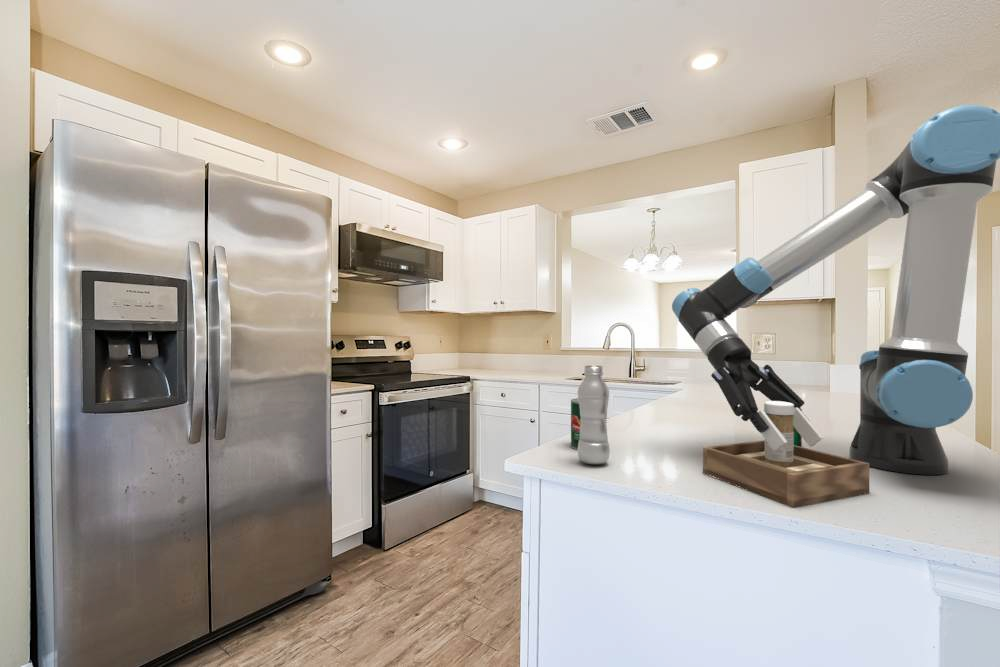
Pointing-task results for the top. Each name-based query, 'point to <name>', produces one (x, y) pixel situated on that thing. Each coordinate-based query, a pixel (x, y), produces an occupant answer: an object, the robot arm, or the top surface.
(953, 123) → the robot arm
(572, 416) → the canned tomato
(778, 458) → the sprinkles bottle
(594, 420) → the plastic bottle
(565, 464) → the top surface
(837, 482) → the socket tray
